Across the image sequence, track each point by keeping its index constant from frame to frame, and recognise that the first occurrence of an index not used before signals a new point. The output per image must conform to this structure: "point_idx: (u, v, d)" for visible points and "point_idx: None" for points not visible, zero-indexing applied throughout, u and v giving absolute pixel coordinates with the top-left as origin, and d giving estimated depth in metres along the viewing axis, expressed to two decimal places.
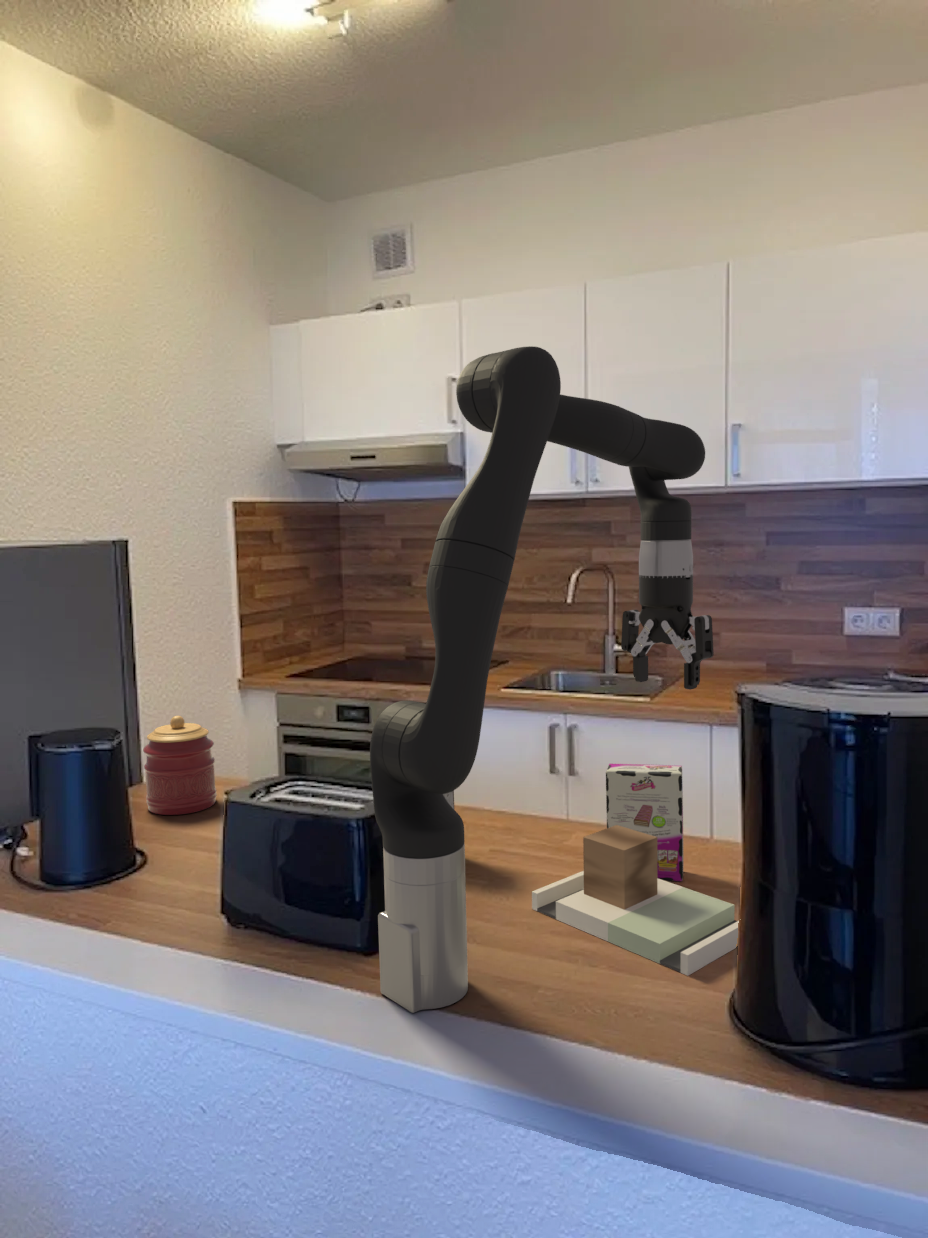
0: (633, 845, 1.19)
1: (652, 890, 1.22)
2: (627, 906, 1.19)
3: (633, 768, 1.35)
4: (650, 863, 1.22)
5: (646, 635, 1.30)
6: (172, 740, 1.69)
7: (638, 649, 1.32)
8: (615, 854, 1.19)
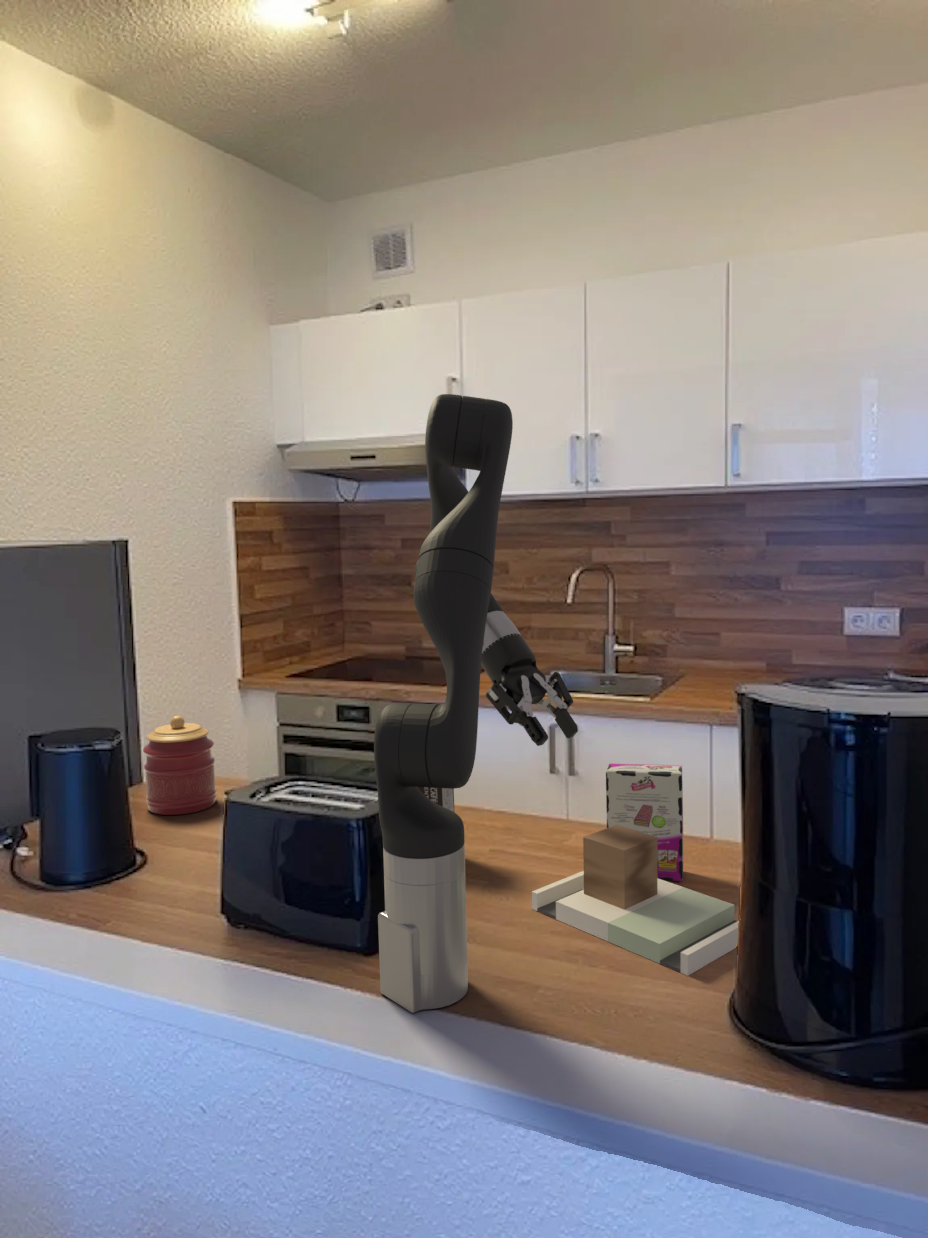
0: (633, 845, 1.19)
1: (652, 890, 1.22)
2: (627, 906, 1.19)
3: (633, 768, 1.35)
4: (650, 863, 1.22)
5: (528, 690, 1.31)
6: (172, 740, 1.69)
7: (530, 708, 1.29)
8: (615, 854, 1.19)
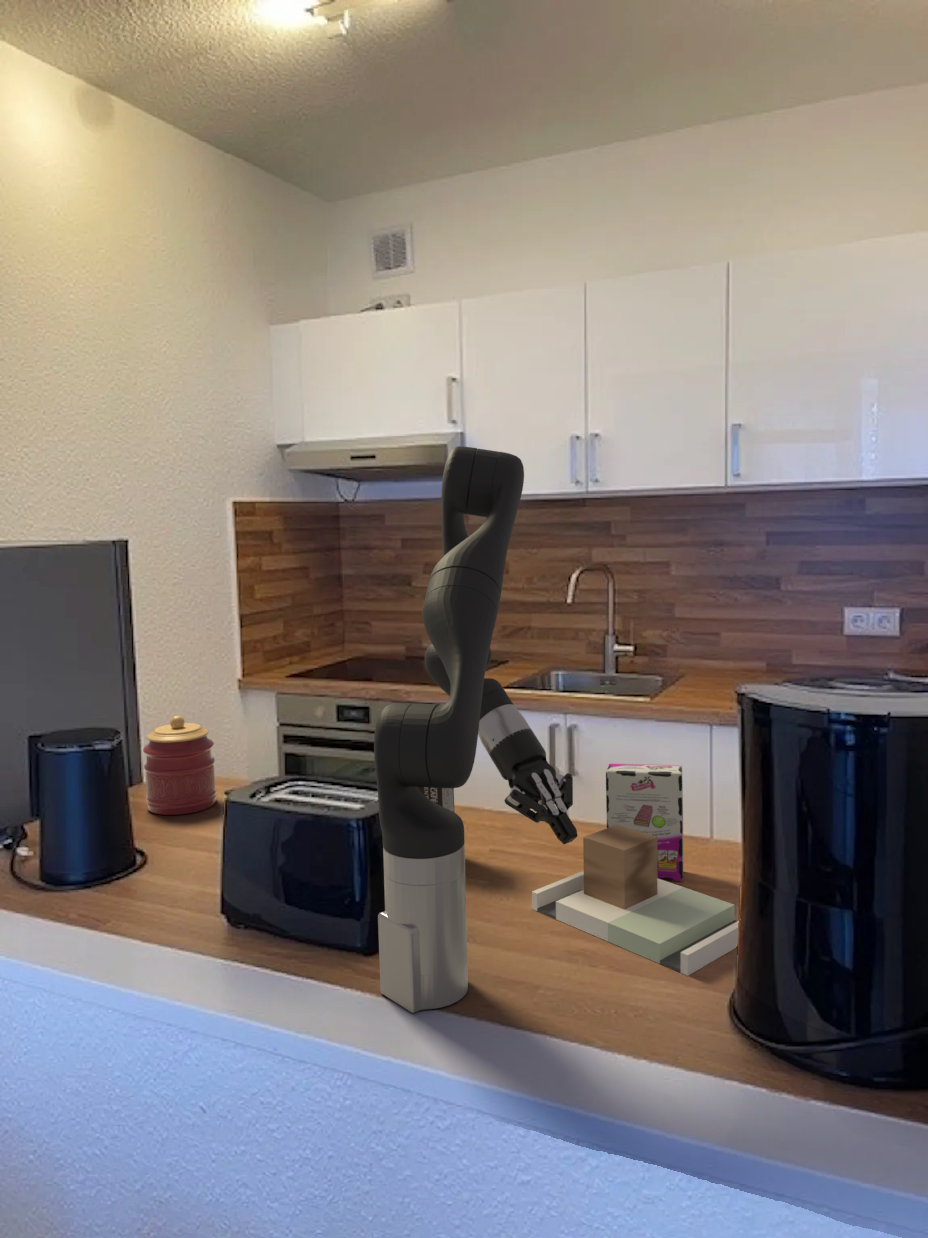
0: (633, 845, 1.19)
1: (652, 890, 1.22)
2: (627, 906, 1.19)
3: (633, 768, 1.35)
4: (650, 863, 1.22)
5: (543, 787, 1.32)
6: (172, 740, 1.69)
7: (553, 805, 1.31)
8: (615, 854, 1.19)
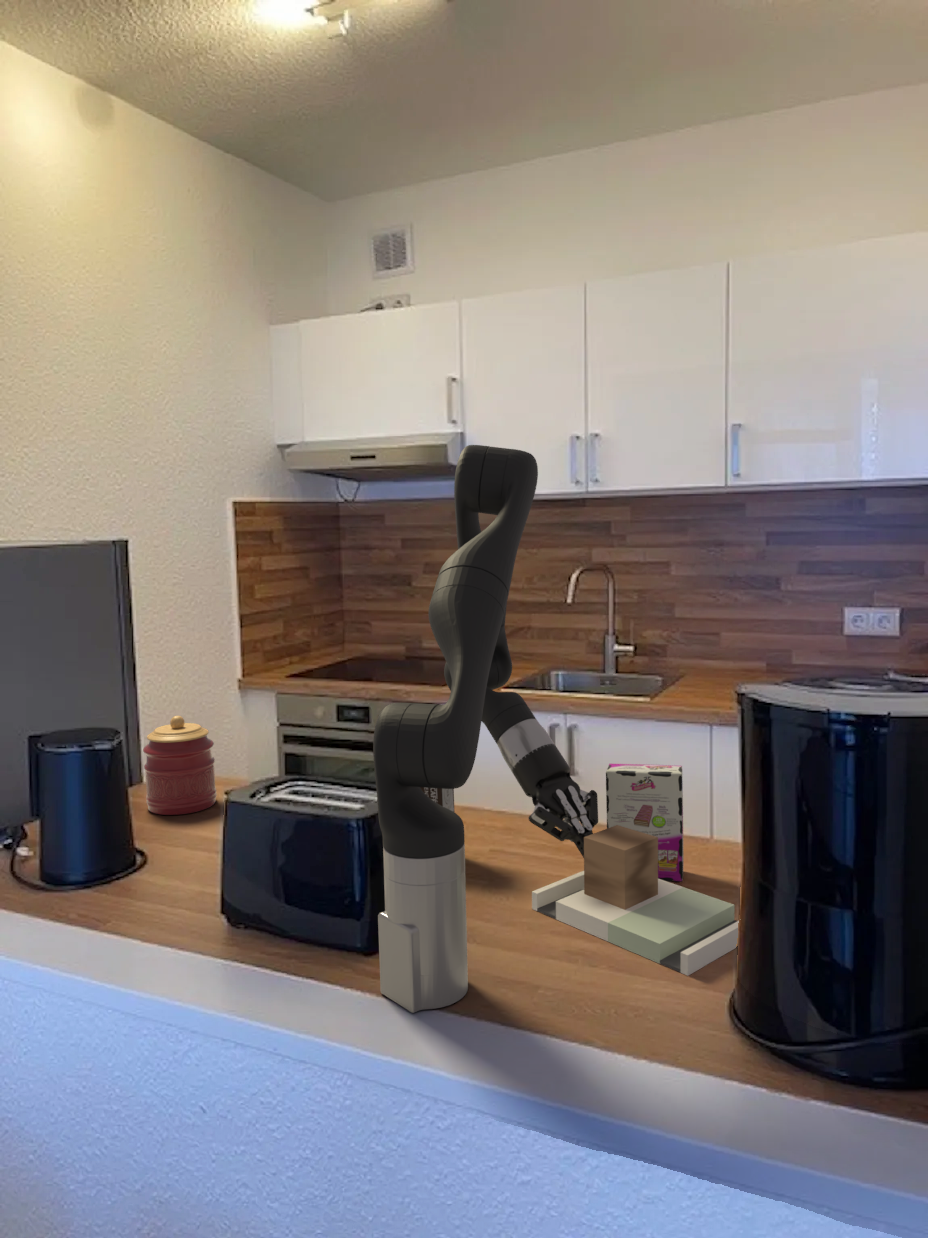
0: (634, 845, 1.19)
1: (652, 890, 1.22)
2: (628, 906, 1.19)
3: (633, 768, 1.35)
4: (650, 864, 1.22)
5: (568, 804, 1.28)
6: (172, 740, 1.69)
7: (578, 823, 1.27)
8: (616, 855, 1.19)
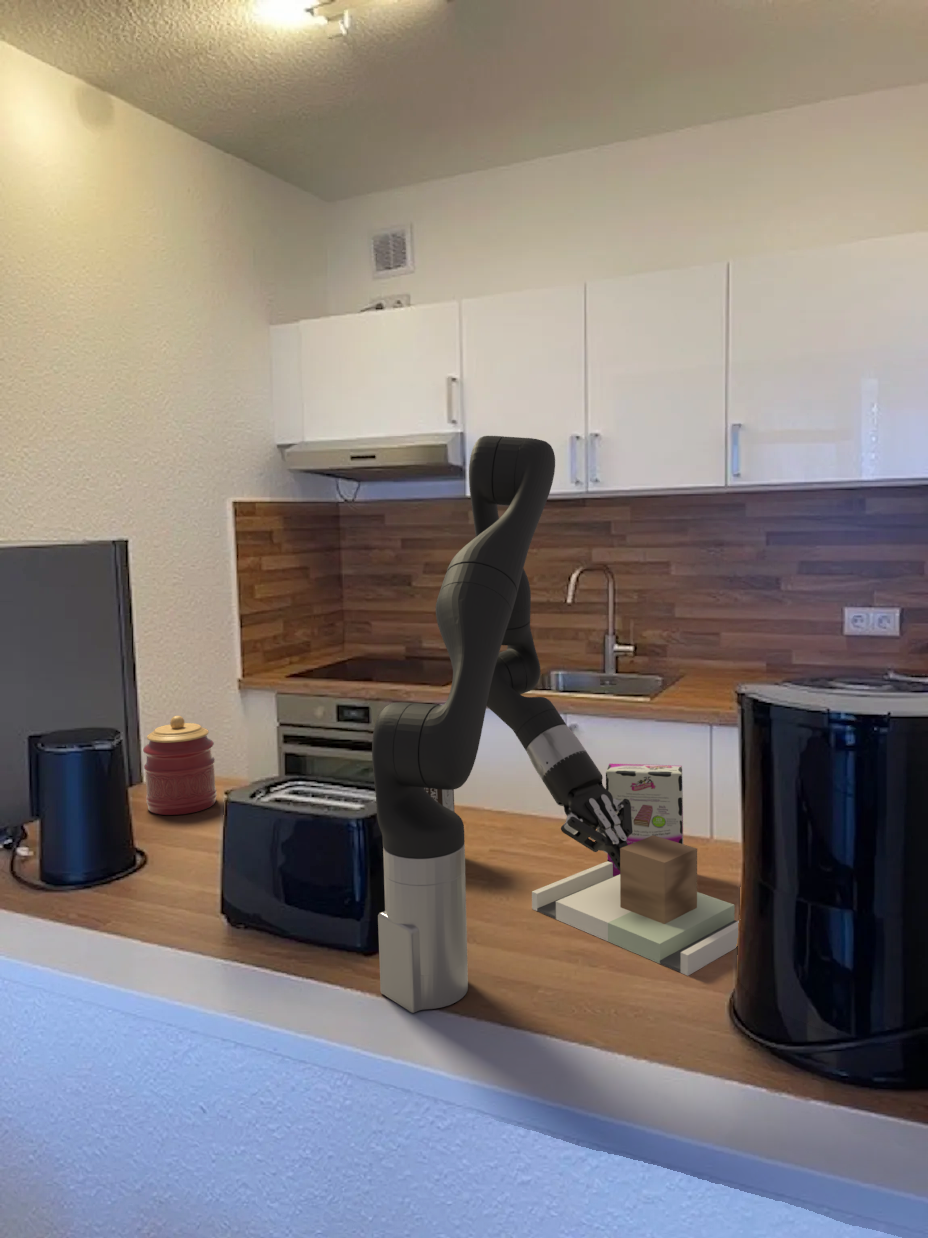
0: (674, 857, 1.15)
1: (691, 903, 1.18)
2: (667, 920, 1.14)
3: (633, 768, 1.35)
4: (690, 876, 1.17)
5: (602, 814, 1.24)
6: (172, 740, 1.69)
7: (612, 833, 1.23)
8: (655, 867, 1.14)
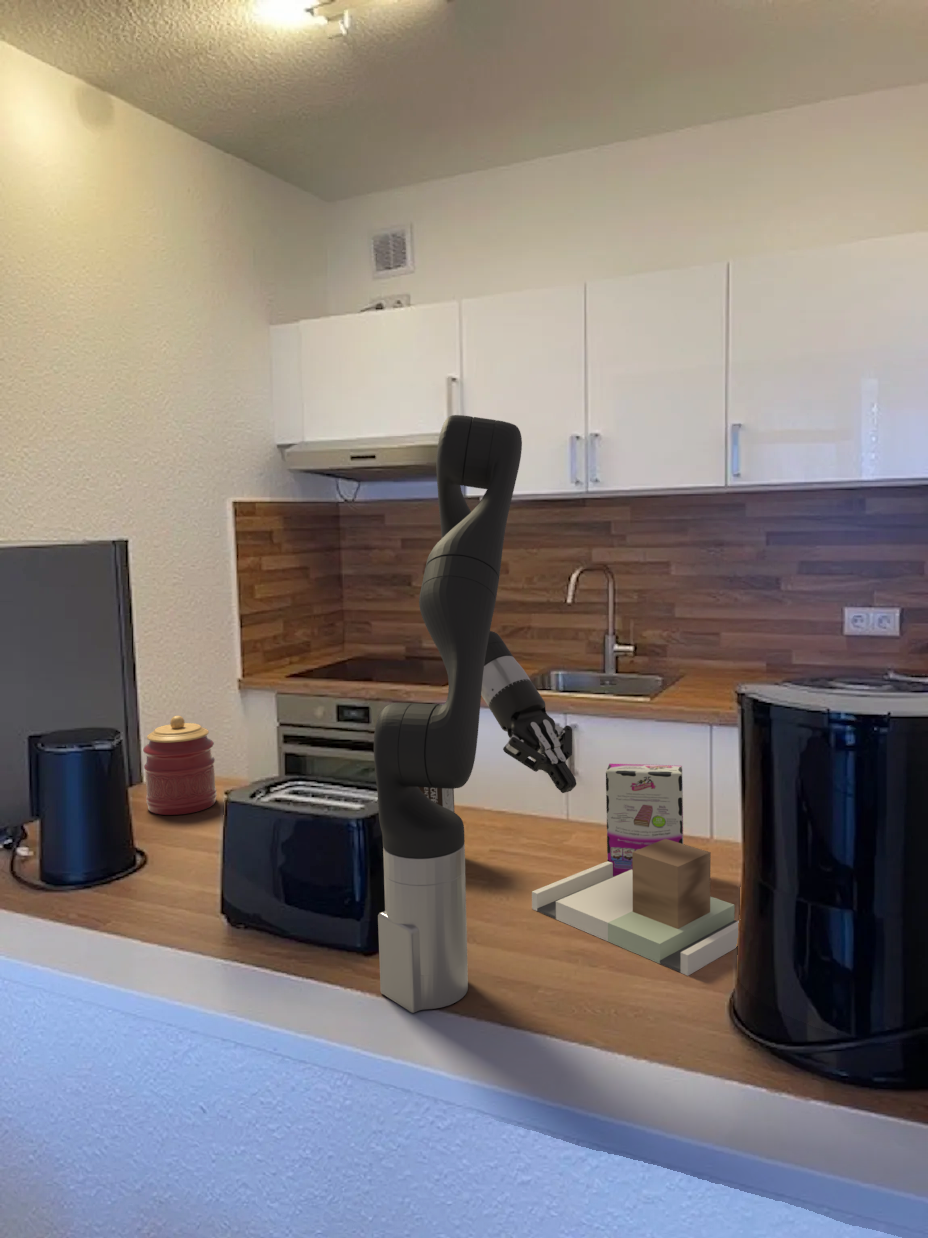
0: (687, 861, 1.14)
1: (705, 908, 1.16)
2: (680, 925, 1.13)
3: (633, 768, 1.35)
4: (703, 880, 1.16)
5: (542, 736, 1.31)
6: (172, 740, 1.69)
7: (552, 754, 1.30)
8: (668, 871, 1.13)
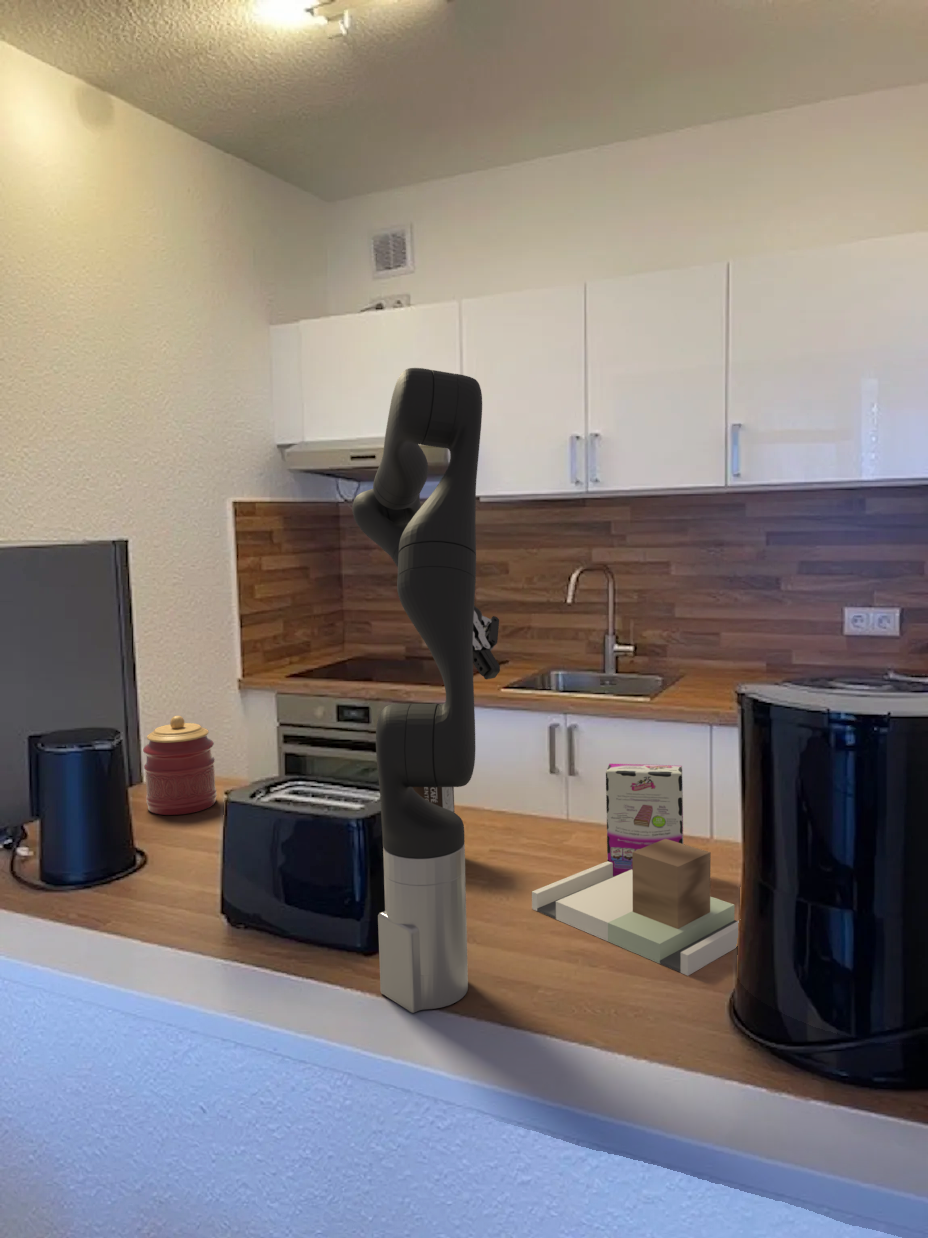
0: (687, 861, 1.14)
1: (705, 908, 1.16)
2: (680, 925, 1.13)
3: (633, 768, 1.35)
4: (703, 880, 1.16)
5: None
6: (172, 740, 1.69)
7: (476, 641, 1.28)
8: (668, 871, 1.13)
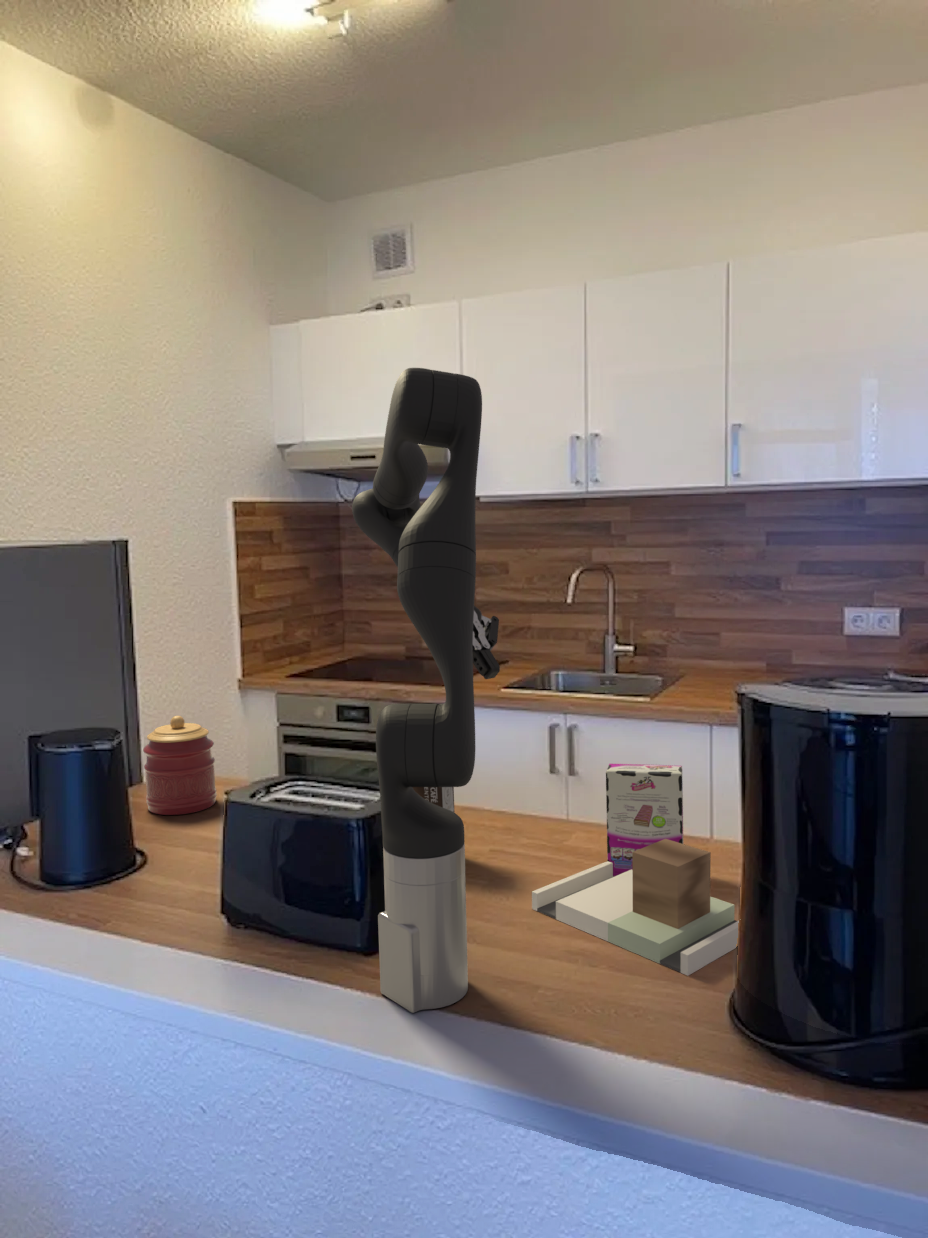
0: (687, 861, 1.14)
1: (705, 908, 1.16)
2: (680, 925, 1.13)
3: (633, 768, 1.35)
4: (703, 880, 1.16)
5: None
6: (172, 740, 1.69)
7: (475, 641, 1.28)
8: (668, 871, 1.13)
